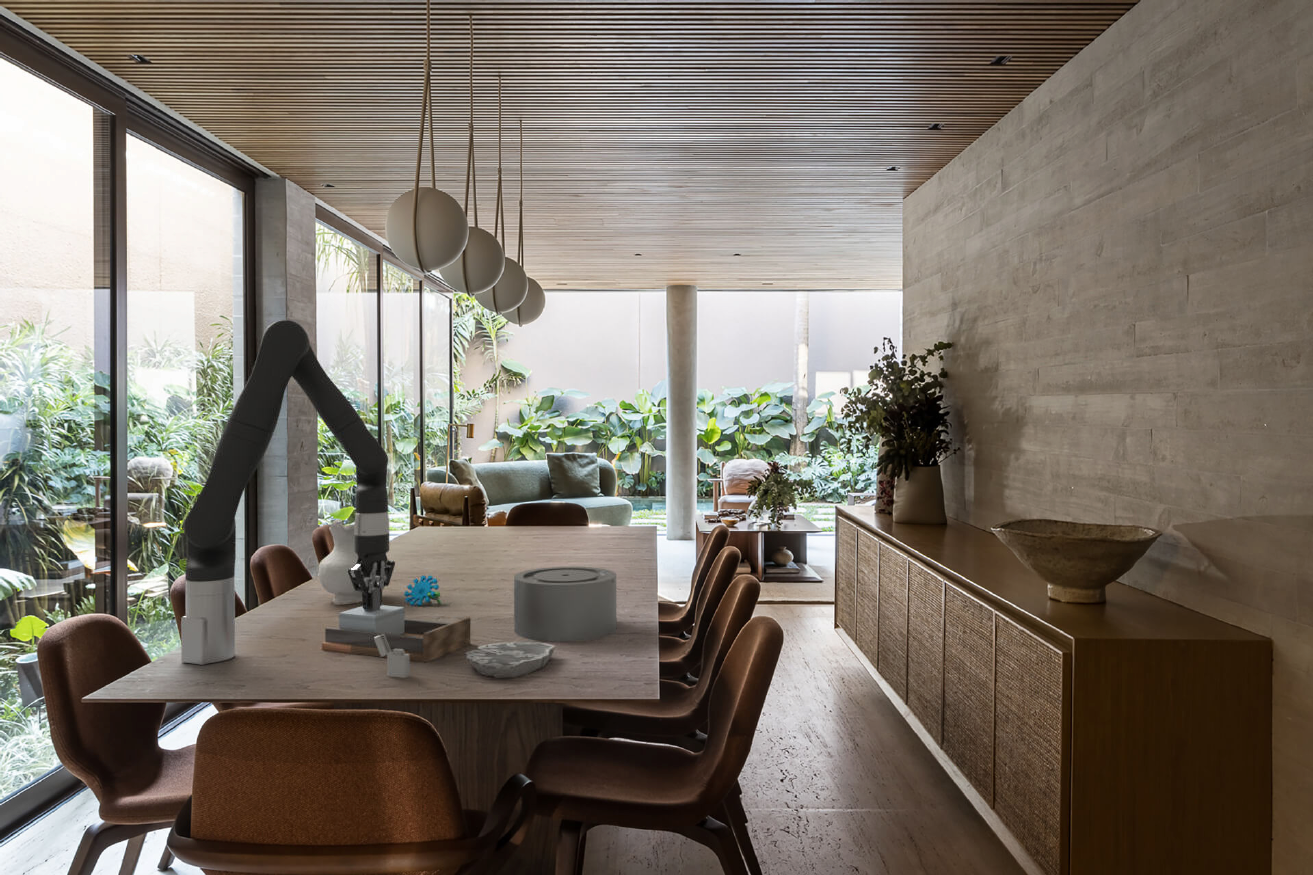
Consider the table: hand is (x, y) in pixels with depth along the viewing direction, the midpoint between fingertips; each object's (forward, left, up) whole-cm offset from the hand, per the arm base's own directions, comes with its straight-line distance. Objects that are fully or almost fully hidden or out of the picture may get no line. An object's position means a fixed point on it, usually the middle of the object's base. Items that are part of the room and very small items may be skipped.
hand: (372, 607), depth 185 cm
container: (+28, -35, -9) cm, 46 cm away
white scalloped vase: (+38, +38, -8) cm, 54 cm away
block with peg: (0, 0, -7) cm, 7 cm away
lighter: (-18, -20, -8) cm, 28 cm away
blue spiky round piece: (+40, +16, -9) cm, 44 cm away
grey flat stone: (-4, -38, -9) cm, 39 cm away
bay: (0, -7, -8) cm, 11 cm away
